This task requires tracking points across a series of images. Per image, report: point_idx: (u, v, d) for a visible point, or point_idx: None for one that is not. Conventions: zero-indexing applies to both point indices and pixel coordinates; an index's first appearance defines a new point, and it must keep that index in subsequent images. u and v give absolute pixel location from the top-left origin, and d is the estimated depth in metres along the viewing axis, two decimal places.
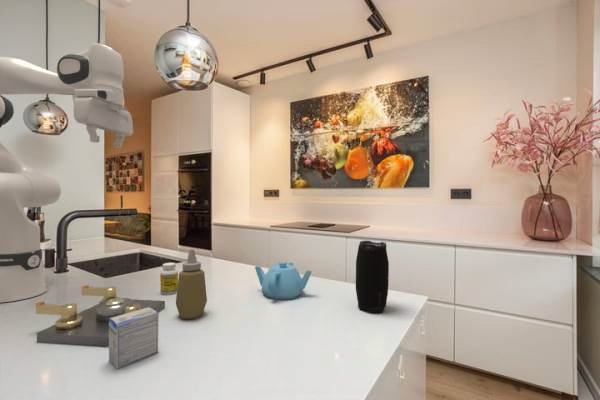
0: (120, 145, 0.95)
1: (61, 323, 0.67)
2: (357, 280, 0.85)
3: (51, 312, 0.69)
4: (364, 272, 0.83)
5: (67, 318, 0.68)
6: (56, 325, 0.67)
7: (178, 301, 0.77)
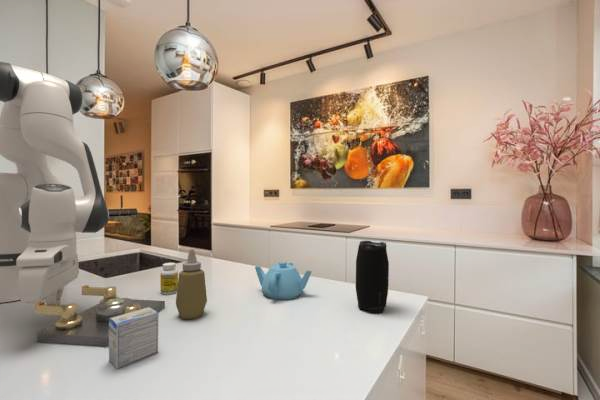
0: None
1: (61, 323, 0.67)
2: (357, 280, 0.85)
3: (51, 312, 0.69)
4: (364, 272, 0.83)
5: (67, 318, 0.68)
6: (56, 325, 0.67)
7: (178, 301, 0.77)
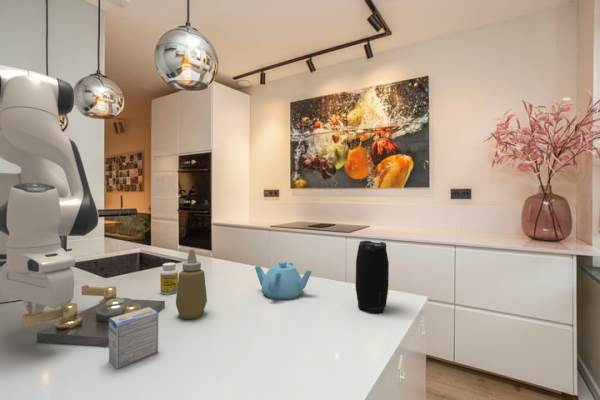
0: None
1: (71, 322, 0.68)
2: (357, 280, 0.85)
3: (48, 318, 0.65)
4: (364, 272, 0.83)
5: (75, 315, 0.69)
6: (67, 325, 0.67)
7: (178, 301, 0.77)
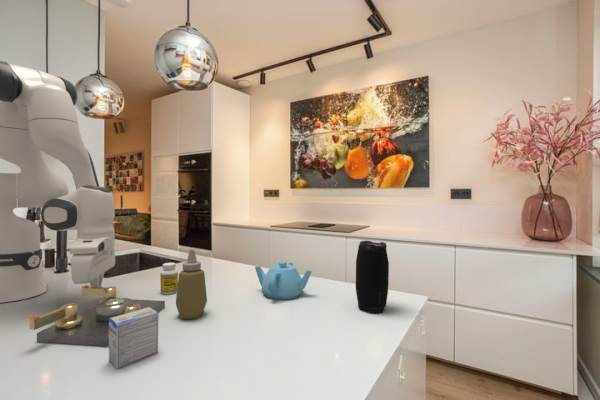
0: None
1: (75, 320, 0.69)
2: (357, 280, 0.85)
3: (54, 319, 0.65)
4: (364, 272, 0.83)
5: (76, 314, 0.69)
6: (73, 324, 0.68)
7: (178, 301, 0.77)
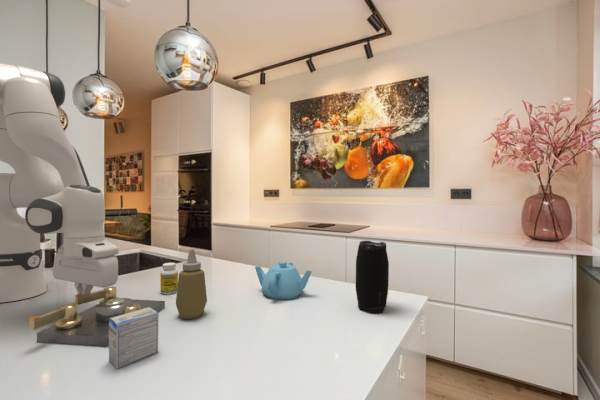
0: None
1: (75, 320, 0.69)
2: (357, 280, 0.85)
3: (54, 319, 0.65)
4: (364, 272, 0.83)
5: (76, 314, 0.69)
6: (73, 324, 0.68)
7: (178, 301, 0.77)
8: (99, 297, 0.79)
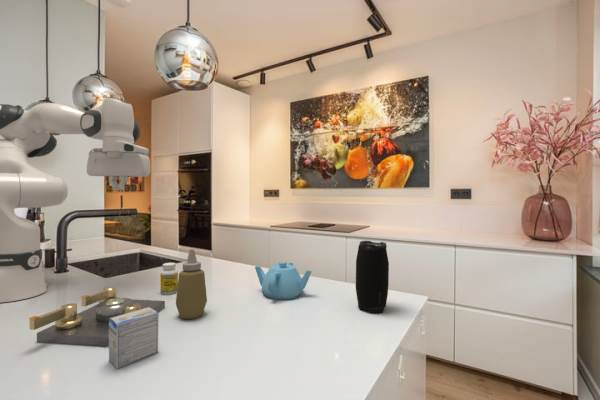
0: None
1: (75, 320, 0.69)
2: (357, 280, 0.85)
3: (54, 319, 0.65)
4: (364, 272, 0.83)
5: (76, 314, 0.69)
6: (73, 324, 0.68)
7: (178, 301, 0.77)
8: (102, 297, 0.79)
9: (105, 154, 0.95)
